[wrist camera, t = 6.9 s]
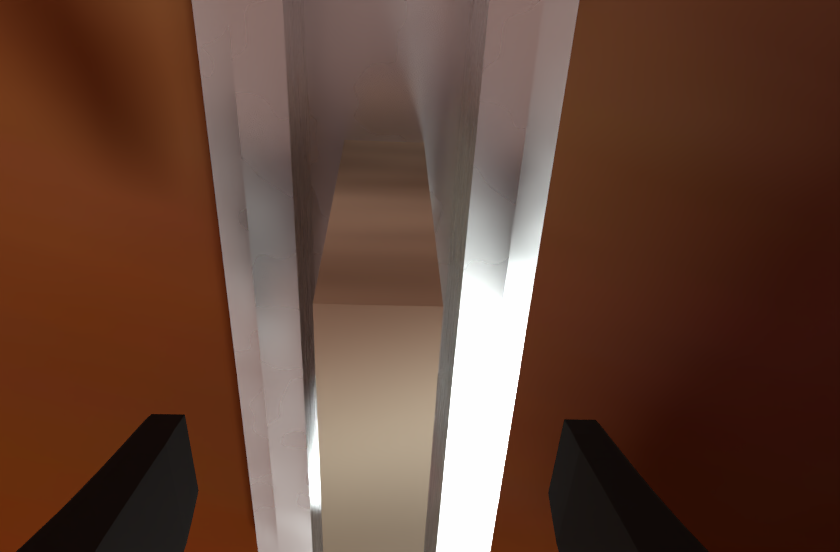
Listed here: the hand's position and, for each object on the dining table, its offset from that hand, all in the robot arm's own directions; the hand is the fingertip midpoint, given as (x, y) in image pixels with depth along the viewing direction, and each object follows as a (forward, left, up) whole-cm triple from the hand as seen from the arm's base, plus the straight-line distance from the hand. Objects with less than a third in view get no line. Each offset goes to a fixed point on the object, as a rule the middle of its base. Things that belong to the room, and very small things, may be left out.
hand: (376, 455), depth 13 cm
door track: (0, 0, -5) cm, 5 cm away
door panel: (0, 0, -4) cm, 4 cm away
